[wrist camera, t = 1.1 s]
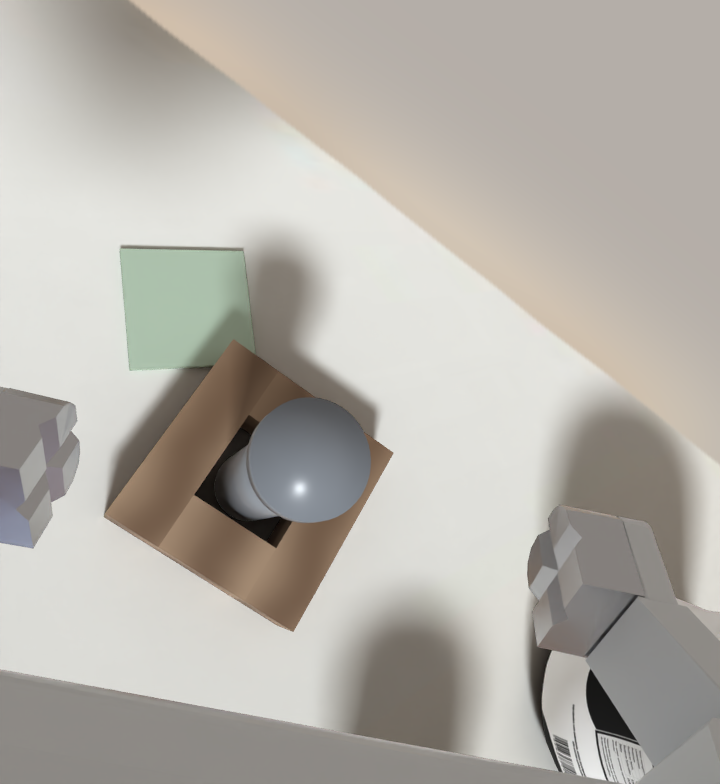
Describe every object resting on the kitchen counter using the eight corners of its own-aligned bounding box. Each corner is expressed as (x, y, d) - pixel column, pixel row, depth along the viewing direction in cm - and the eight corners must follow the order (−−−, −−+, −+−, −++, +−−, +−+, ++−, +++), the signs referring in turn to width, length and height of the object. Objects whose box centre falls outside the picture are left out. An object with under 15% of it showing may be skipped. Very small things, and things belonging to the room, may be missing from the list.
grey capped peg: (199, 446, 47) (244, 401, 33) (286, 438, 49) (361, 393, 35) (209, 537, 45) (259, 530, 32) (297, 524, 48) (379, 513, 34)
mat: (119, 250, 48) (119, 248, 47) (242, 253, 51) (243, 251, 51) (129, 370, 46) (129, 369, 46) (255, 364, 49) (256, 363, 49)
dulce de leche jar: (711, 653, 59) (945, 691, 43) (652, 856, 52) (902, 992, 36) (570, 551, 56) (765, 550, 40) (488, 752, 49) (682, 850, 33)
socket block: (103, 517, 43) (104, 513, 40) (223, 354, 49) (233, 338, 45) (277, 625, 46) (293, 631, 42) (372, 460, 51) (393, 452, 48)
